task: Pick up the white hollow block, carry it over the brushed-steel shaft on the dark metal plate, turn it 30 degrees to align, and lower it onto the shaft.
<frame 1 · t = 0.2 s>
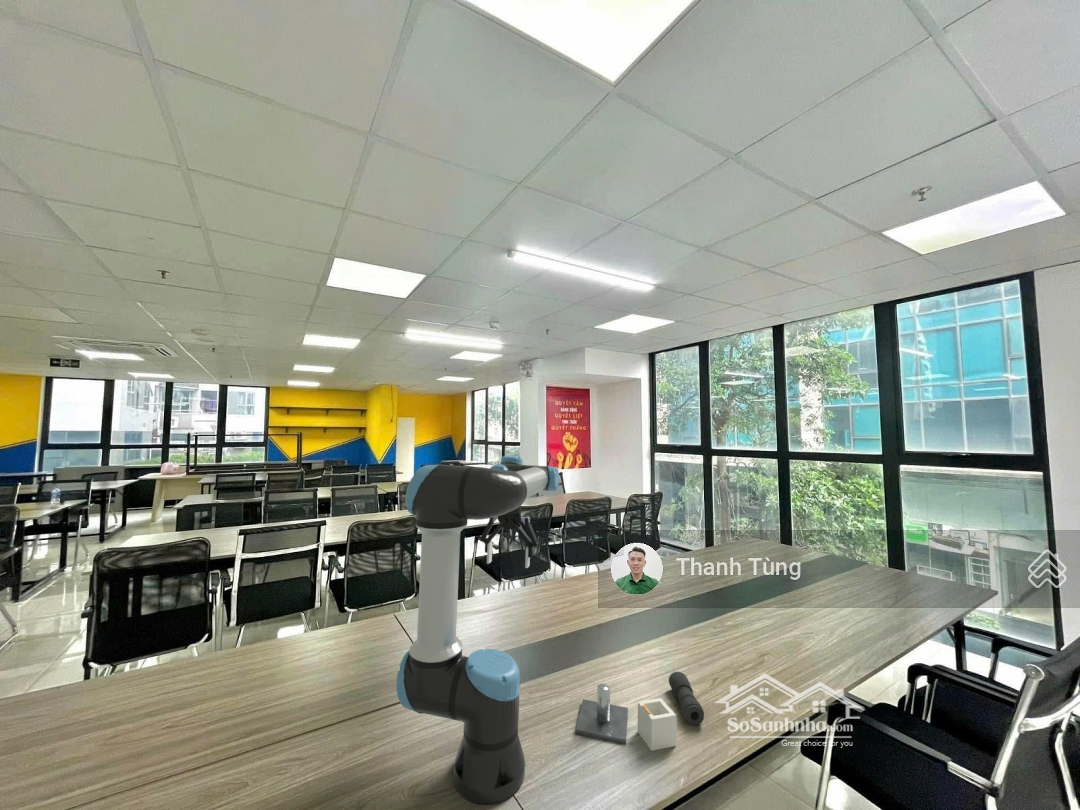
hand: (508, 564, 141), 28 cm above the table, fingers open, 13 cm apart
shaft block: (602, 722, 106), on the table
white hollow block: (656, 738, 101), on the table
flashlight: (685, 707, 113), on the table
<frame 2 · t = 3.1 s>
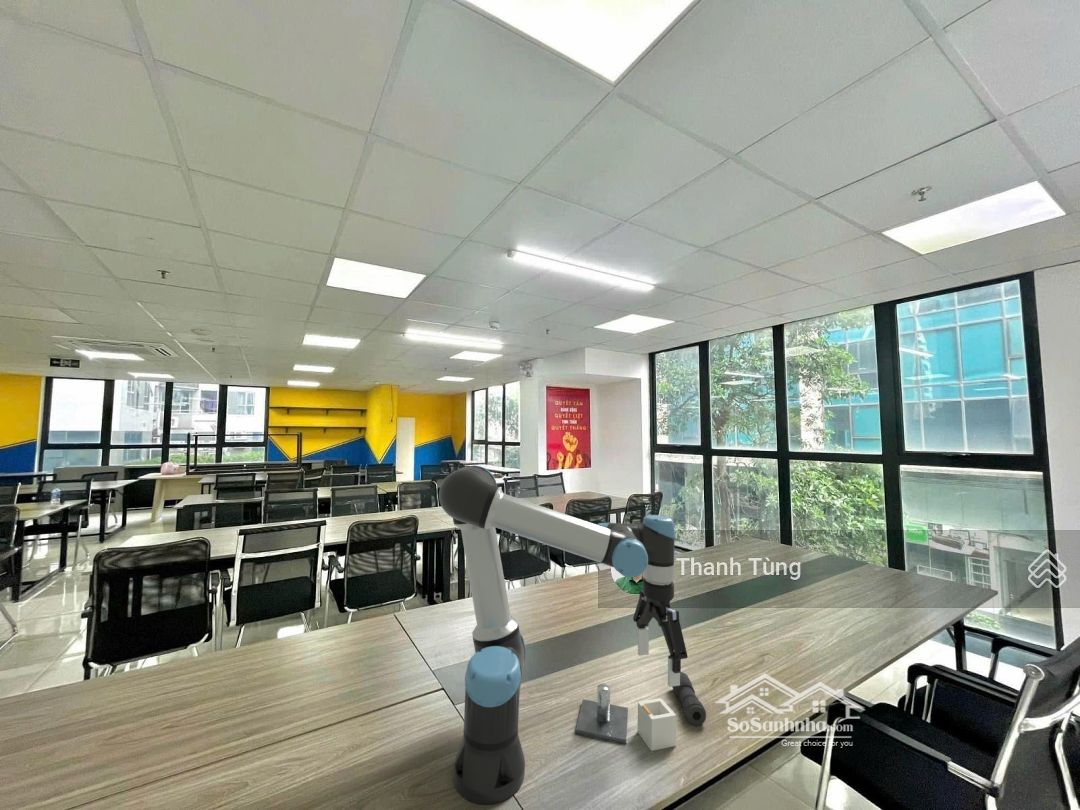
hand: (657, 668, 102), 16 cm above the table, fingers open, 13 cm apart
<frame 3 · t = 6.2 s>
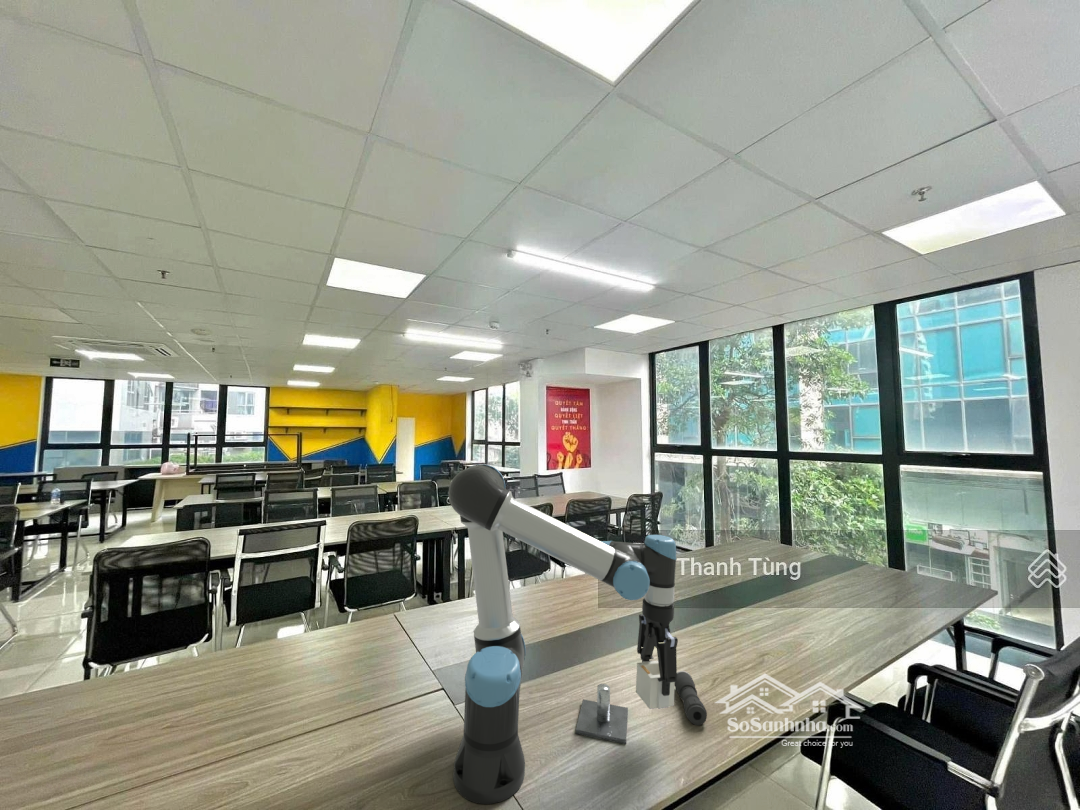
hand: (654, 697, 102), 10 cm above the table, fingers closed on white hollow block, 6 cm apart
white hollow block: (654, 698, 102), point 9 cm above the table, touching gripper
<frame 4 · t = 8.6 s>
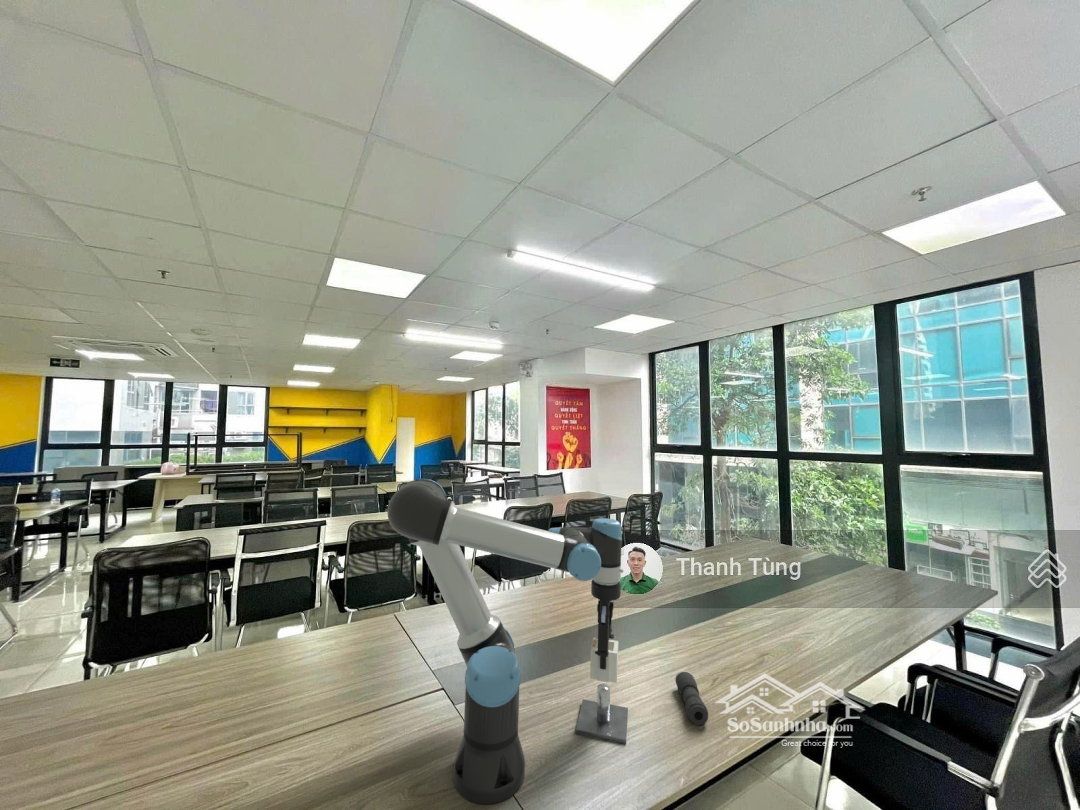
hand: (604, 672, 107), 12 cm above the table, fingers closed on white hollow block, 6 cm apart
white hollow block: (604, 673, 107), point 12 cm above the table, touching gripper
when the fingers open (2 cm above the table, at t = 11.1 s): white hollow block stays where it is, resting on shaft block.
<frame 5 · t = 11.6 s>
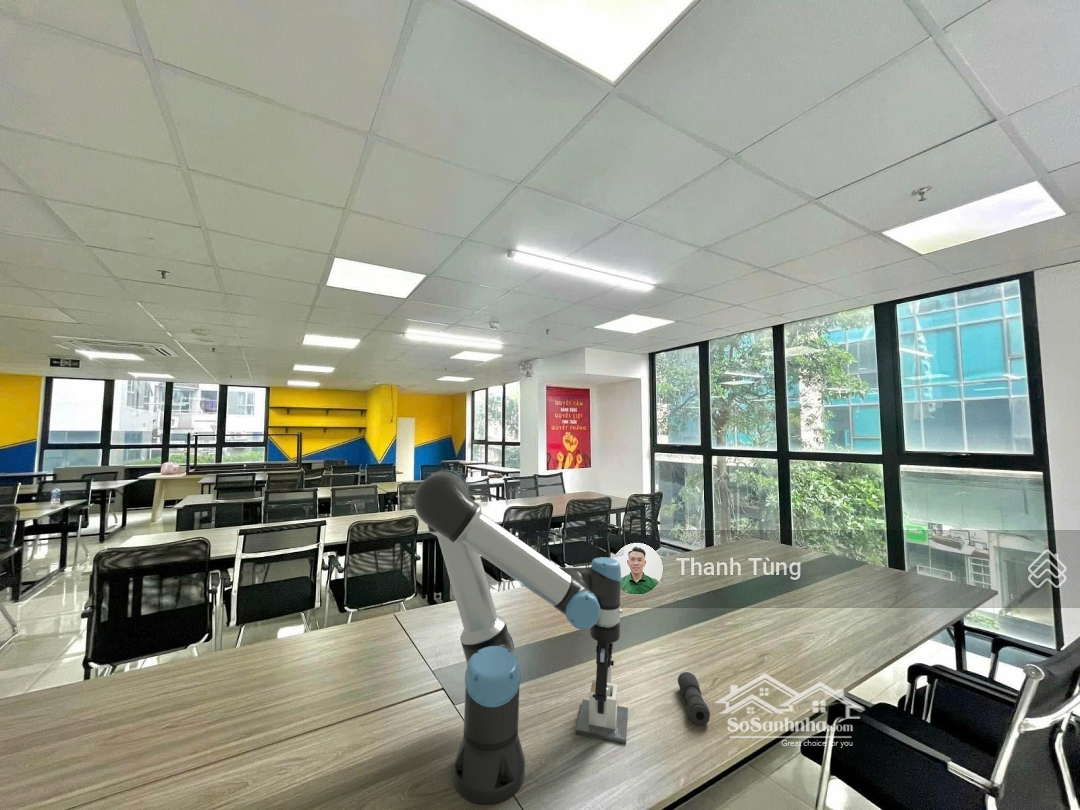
hand: (603, 707, 106), 4 cm above the table, fingers open, 13 cm apart
white hollow block: (603, 718, 106), point 1 cm above the table, touching shaft block
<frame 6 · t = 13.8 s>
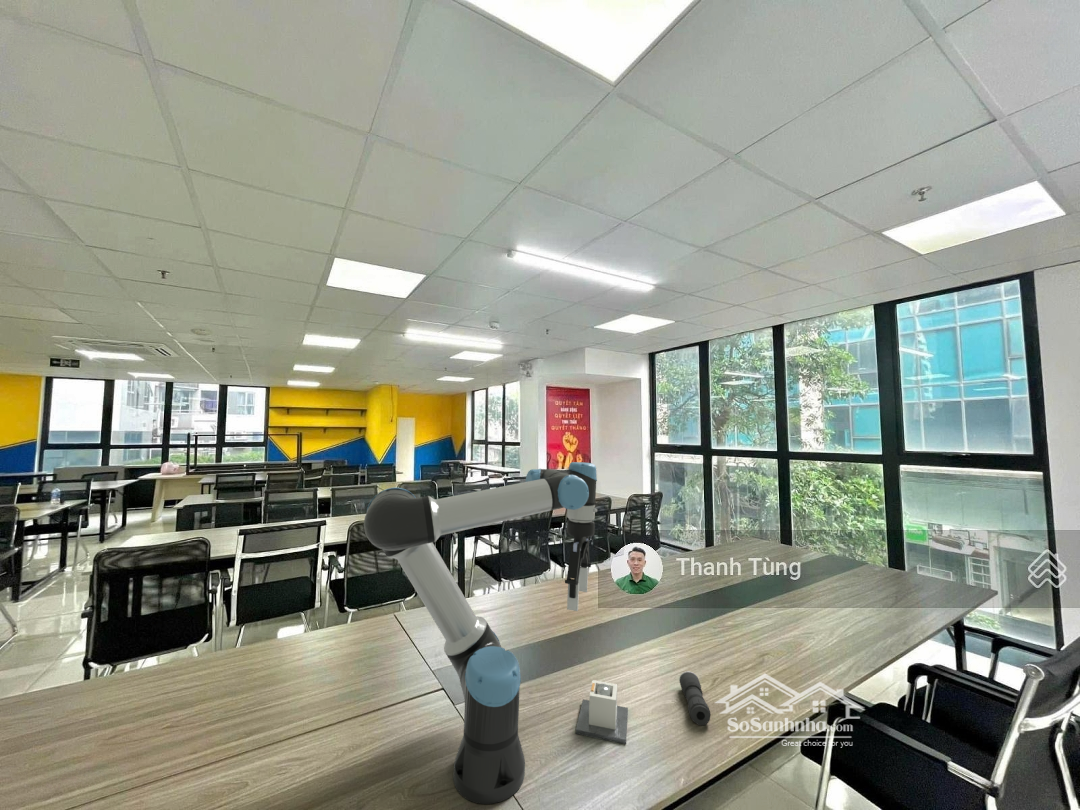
hand: (577, 600, 112), 28 cm above the table, fingers open, 13 cm apart
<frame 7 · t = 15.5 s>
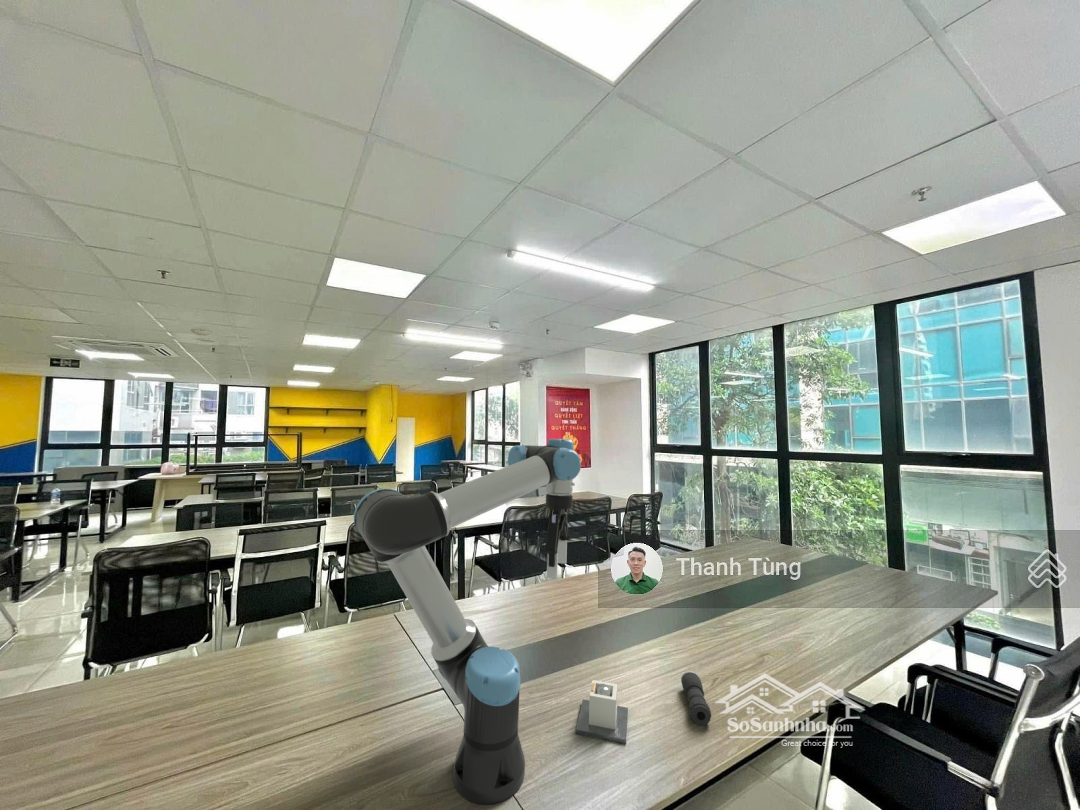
hand: (557, 570, 116), 35 cm above the table, fingers open, 13 cm apart
at the end: white hollow block 0.0 cm off-centre on the shaft block, point 1.1 cm above the shaft block's base; white hollow block tilted 1°; the gripper is holding nothing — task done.
